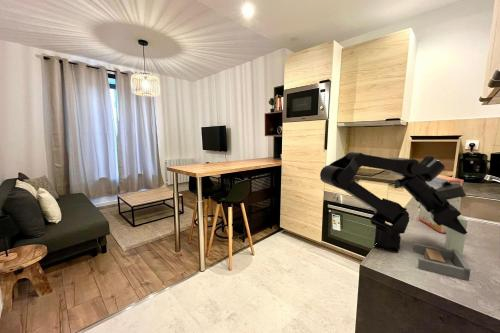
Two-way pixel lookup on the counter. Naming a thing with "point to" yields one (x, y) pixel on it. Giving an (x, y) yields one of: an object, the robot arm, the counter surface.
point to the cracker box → (437, 183)
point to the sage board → (456, 237)
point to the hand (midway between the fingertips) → (462, 230)
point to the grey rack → (456, 271)
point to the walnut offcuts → (433, 256)
